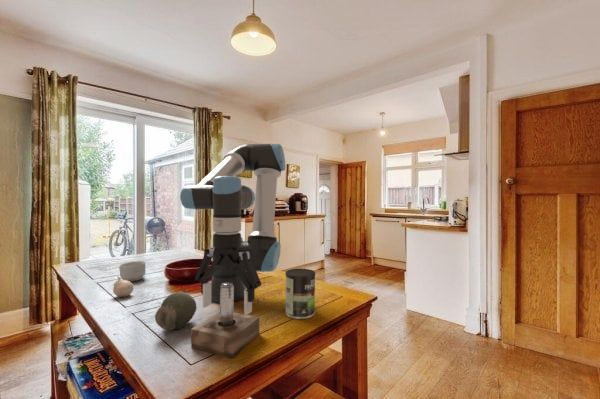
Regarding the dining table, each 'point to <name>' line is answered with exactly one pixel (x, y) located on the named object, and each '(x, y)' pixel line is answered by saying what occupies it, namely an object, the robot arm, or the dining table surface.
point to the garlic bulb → (122, 288)
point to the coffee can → (300, 293)
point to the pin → (226, 304)
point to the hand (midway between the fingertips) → (226, 309)
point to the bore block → (225, 335)
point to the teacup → (132, 270)
